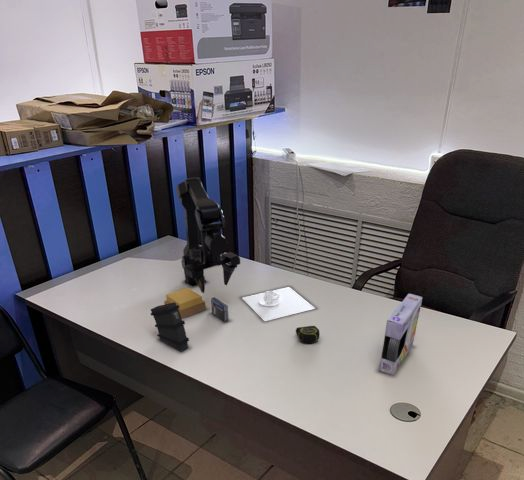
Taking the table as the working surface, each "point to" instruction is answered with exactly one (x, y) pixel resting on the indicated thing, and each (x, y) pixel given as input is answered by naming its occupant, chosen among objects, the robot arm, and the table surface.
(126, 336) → the table surface
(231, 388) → the table surface
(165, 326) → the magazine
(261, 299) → the white piece
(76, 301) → the table surface
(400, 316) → the cake pan box
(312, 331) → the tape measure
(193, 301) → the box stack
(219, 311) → the mini dv tape
